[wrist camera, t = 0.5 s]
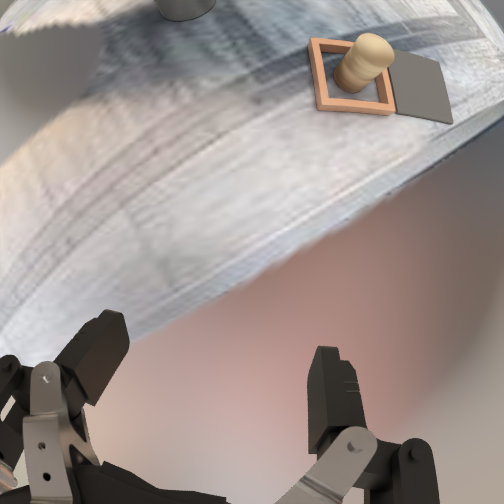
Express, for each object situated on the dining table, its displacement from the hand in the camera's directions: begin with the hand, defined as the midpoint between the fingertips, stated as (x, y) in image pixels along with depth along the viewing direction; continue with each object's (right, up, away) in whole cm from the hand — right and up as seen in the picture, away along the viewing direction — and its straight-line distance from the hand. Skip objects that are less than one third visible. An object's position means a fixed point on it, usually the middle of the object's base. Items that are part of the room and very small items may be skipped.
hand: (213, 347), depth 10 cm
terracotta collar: (+15, +29, +21) cm, 38 cm away
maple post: (+15, +29, +21) cm, 38 cm away
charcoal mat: (+28, +30, +20) cm, 46 cm away
